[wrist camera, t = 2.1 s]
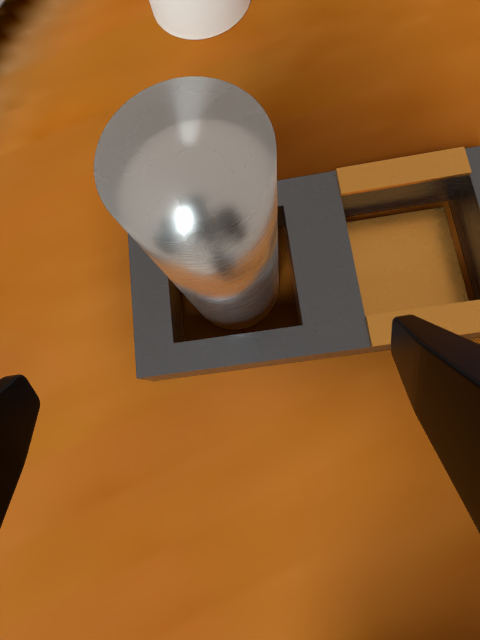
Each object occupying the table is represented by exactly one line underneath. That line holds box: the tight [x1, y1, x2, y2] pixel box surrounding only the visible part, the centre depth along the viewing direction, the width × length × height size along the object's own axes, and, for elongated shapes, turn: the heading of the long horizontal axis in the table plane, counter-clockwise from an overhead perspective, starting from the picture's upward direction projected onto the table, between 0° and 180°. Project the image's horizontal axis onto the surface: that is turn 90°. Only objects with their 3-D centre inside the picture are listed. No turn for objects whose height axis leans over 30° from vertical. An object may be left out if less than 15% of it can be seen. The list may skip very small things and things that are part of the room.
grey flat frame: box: [128, 146, 480, 381], centre depth 20 cm, size 20×10×3 cm, turn 97°
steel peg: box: [94, 76, 279, 330], centre depth 16 cm, size 5×5×12 cm
